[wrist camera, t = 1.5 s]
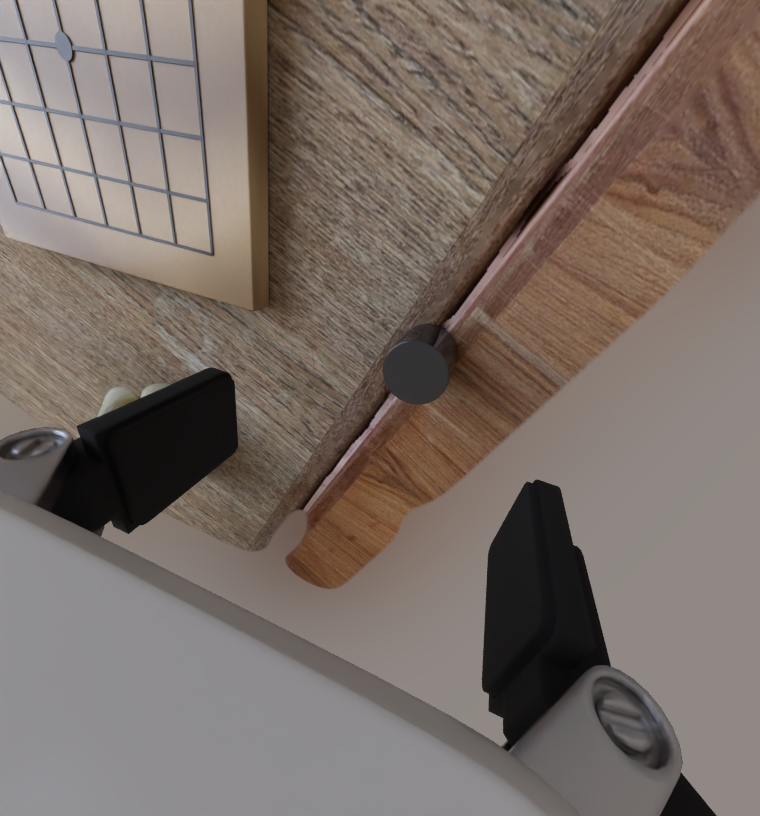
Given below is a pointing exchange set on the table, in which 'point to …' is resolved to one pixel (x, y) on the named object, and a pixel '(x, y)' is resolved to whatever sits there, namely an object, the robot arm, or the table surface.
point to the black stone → (420, 364)
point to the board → (140, 138)
